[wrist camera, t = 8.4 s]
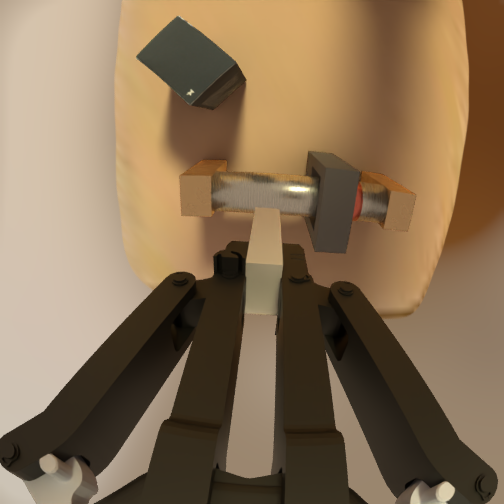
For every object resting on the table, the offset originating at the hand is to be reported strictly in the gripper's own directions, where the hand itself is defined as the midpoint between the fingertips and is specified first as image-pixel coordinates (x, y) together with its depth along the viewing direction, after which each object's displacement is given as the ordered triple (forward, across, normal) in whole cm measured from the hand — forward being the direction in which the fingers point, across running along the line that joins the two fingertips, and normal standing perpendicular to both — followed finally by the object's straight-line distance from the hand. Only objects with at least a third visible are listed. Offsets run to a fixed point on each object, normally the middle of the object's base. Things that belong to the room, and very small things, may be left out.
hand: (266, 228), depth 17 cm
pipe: (+18, +3, -1) cm, 18 cm away
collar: (+11, +6, -1) cm, 13 cm away
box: (+18, -8, +12) cm, 23 cm away
